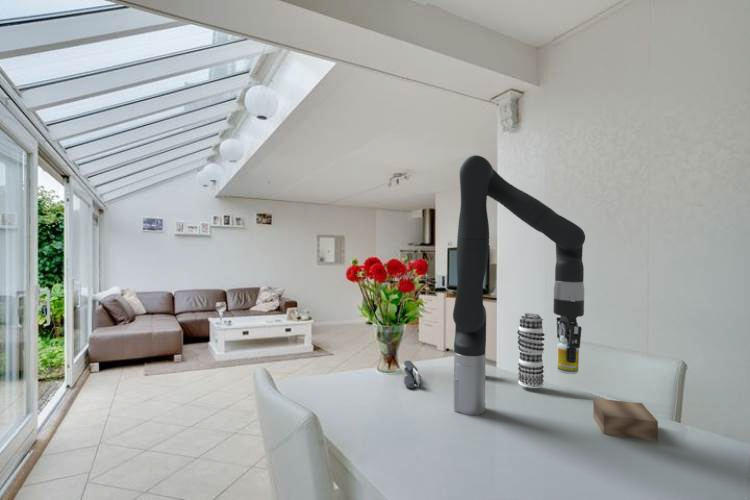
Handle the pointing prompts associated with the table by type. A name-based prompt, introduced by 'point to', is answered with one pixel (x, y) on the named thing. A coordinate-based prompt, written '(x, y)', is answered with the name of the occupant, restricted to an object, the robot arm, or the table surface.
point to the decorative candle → (530, 351)
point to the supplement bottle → (561, 359)
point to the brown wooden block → (625, 419)
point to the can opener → (411, 375)
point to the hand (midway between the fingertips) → (567, 358)
